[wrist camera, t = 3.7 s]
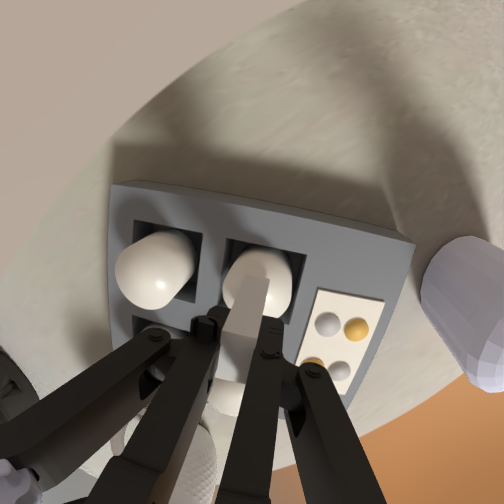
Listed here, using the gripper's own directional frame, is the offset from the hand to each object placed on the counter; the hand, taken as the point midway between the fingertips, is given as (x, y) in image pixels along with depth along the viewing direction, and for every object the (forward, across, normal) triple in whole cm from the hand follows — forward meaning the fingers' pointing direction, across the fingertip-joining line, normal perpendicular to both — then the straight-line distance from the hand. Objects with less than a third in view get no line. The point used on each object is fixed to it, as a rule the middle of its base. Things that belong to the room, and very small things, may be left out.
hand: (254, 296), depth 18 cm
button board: (+6, -1, -4) cm, 7 cm away
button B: (+3, -7, 0) cm, 8 cm away
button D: (+5, 0, 0) cm, 5 cm away
